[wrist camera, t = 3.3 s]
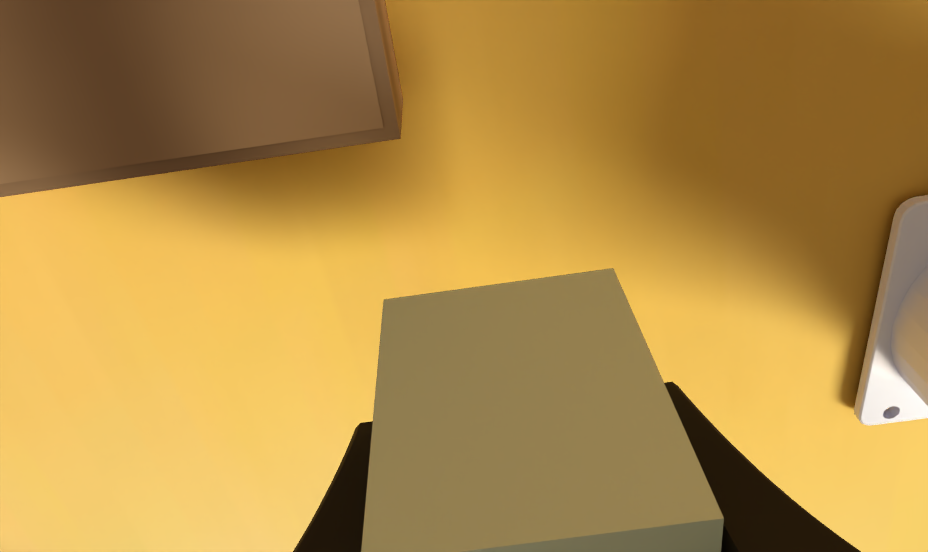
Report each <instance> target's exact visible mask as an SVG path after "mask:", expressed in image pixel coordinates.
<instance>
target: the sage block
mask: <svg viewBox="0 0 928 552" xmlns="http://www.w3.org/2000/svg"><path fill="white" fill-rule="evenodd" d="M723 523H724V517H723V515H722V513H721V511H720V508H719V506H718V504H717V502H716V499H715V497H714V495H713V492H712V490H711V488H710V486H709V483H708V481H707V479H706V477H705V474H704V472H703V470H702V468H701V465H700V463H699V461H698V459H697V456H696V454H695V452H694V450H693V447H692V445H691V443H690V441H689V438H688V436H687V434H686V431H685V429H684V427H683V425H682V422H681V420H680V418H679V416H678V413H677V411H676V409H675V407H674V404H673V402H672V400H671V398H670V395H669V393H668V391H667V389H666V386H665V384H664V382H663V380H662V377H661V375H660V373H659V370H658V368H657V366H656V364H655V361H654V359H653V357H652V355H651V352H650V350H649V348H648V346H647V343H646V341H645V339H644V337H643V334H642V332H641V330H640V328H639V325H638V323H637V321H636V319H635V316H634V314H633V312H632V309H631V307H630V305H629V303H628V300H627V298H626V296H625V294H624V291H623V289H622V287H621V285H620V282H619V280H618V278H617V276H616V273H615V271H614V269H613V268H611V269H603V270H596V271H589V272H582V273H574V274H567V275H560V276H552V277H545V278H538V279H531V280H523V281H516V282H509V283H501V284H494V285H487V286H479V287H472V288H465V289H458V290H450V291H443V292H436V293H428V294H421V295H414V296H406V297H399V298H392V299H385V300H384V301H383V313H382V324H381V335H380V346H379V358H378V369H377V380H376V391H375V403H374V414H373V425H372V436H371V448H370V459H369V470H368V481H367V492H366V504H365V515H364V526H363V537H362V549H361V552H721V546H722V535H723Z"/></svg>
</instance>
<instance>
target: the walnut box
mask: <svg viewBox="0 0 928 552" xmlns="http://www.w3.org/2000/svg"><path fill="white" fill-rule="evenodd" d="M402 108H403V97H402V92H401V86H400V81H399V75H398V70H397V64H396V59H395V53H394V48H393V42H392V37H391V31H390V26H389V20H388V15H387V9H386V4H385V0H0V197H4V196H11V195H18V194H25V193H32V192H38V191H45V190H52V189H59V188H66V187H73V186H79V185H86V184H93V183H100V182H107V181H114V180H120V179H127V178H134V177H141V176H148V175H155V174H161V173H168V172H175V171H182V170H189V169H196V168H202V167H209V166H216V165H223V164H230V163H236V162H243V161H250V160H257V159H264V158H271V157H277V156H284V155H291V154H298V153H305V152H312V151H318V150H325V149H332V148H339V147H346V146H353V145H359V144H366V143H373V142H380V141H387V140H394V139H400V138H401V123H402Z"/></svg>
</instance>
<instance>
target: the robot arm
mask: <svg viewBox="0 0 928 552" xmlns="http://www.w3.org/2000/svg"><path fill="white" fill-rule="evenodd" d="M664 384H665V386H666V389H667V391H668V393H669V395H670V398H671V400H672V402H673V404H674V407H675V409H676V411H677V413H678V416H679V418H680V420H681V422H682V425H683V427H684V429H685V431H686V434H687V436H688V438H689V441H690V443H691V445H692V447H693V450H694V452H695V454H696V456H697V459H698V461H699V463H700V465H701V468H702V470H703V472H704V474H705V477H706V479H707V481H708V483H709V486H710V488H711V490H712V492H713V495H714V497H715V499H716V502H717V504H718V506H719V508H720V511H721V513H722V515H723V517H724V523H723V535H722V546H721V552H861V551H859V550H858V549H856V548H855V547H854V546H852V545H851V544H849V543H848V542H847V541H845V540H844V539H842V538H841V537H840V536H838V535H837V534H836V533H834V532H833V531H832V530H830V529H829V528H828V527H826V526H825V525H824V524H822V523H821V522H820V521H818V520H817V519H816V518H815V517H813V516H812V515H811V514H809V513H808V512H807V511H806V510H804V509H803V508H802V507H801V506H800V505H798V504H797V503H796V502H795V501H794V500H792V499H791V498H790V497H789V496H788V495H787V494H785V493H784V492H783V491H782V490H781V489H780V488H778V487H777V486H776V485H775V484H774V483H773V482H771V481H770V480H769V479H768V478H767V477H766V476H765V475H764V474H763V473H762V472H760V471H759V470H758V469H757V468H756V467H755V466H754V465H753V464H752V463H751V462H750V461H749V460H748V459H747V458H746V457H745V456H744V455H743V454H741V453H740V452H739V451H738V450H737V449H736V448H735V447H734V446H733V445H732V444H731V443H730V442H729V441H728V440H727V439H726V438H725V437H724V436H723V435H722V434H721V433H720V432H719V431H718V430H717V429H716V428H715V427H714V425H713V424H712V423H711V422H710V421H709V420H708V419H707V418H706V417H705V416H704V415H703V414H702V413H701V412H700V411H699V409H698V408H697V407H696V406H695V405H694V404H693V403H692V402H691V401H690V399H689V398H688V397H687V396H686V395H685V394H684V393H683V391H682V390H681V389H680V388H679V387H678V386H677V385H676V384H674V383H673V382H667V383H664ZM887 408H888V409H887ZM854 414H855V415H856V417H857V418H858V419H859V421H860V422H861V423H862V424H865V425H878V424H885V423H893V422H900V421H908V420H915V419H923V418H928V195H924V196H917V197H913V198H910V199H908V200H906V201H905V202H903V203H902V204H901V205H900V206H899V207H898V208H897V209H896V212H895V214H894V217H893V222H892V227H891V232H890V237H889V242H888V246H887V251H886V256H885V261H884V266H883V271H882V276H881V280H880V285H879V290H878V295H877V300H876V305H875V310H874V314H873V319H872V324H871V329H870V334H869V339H868V344H867V348H866V353H865V358H864V363H863V368H862V373H861V378H860V382H859V387H858V392H857V397H856V402H855V407H854ZM372 425H373V421H372V422H365V423H360V424H359V425H358V426H357V427H356V429H355V431H354V434H353V436H352V439H351V441H350V443H349V446H348V448H347V450H346V453H345V455H344V457H343V459H342V462H341V464H340V466H339V468H338V470H337V472H336V474H335V476H334V478H333V481H332V483H331V485H330V487H329V488H328V490H327V492H326V494H325V496H324V498H323V500H322V502H321V504H320V506H319V508H318V509H317V511H316V513H315V515H314V517H313V519H312V521H311V522H310V524H309V526H308V528H307V529H306V531H305V533H304V534H303V536H302V538H301V539H300V541H299V543H298V544H297V546H296V548H295V549H294V551H293V552H361V549H362V537H363V526H364V515H365V504H366V492H367V481H368V470H369V459H370V448H371V436H372Z"/></svg>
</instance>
